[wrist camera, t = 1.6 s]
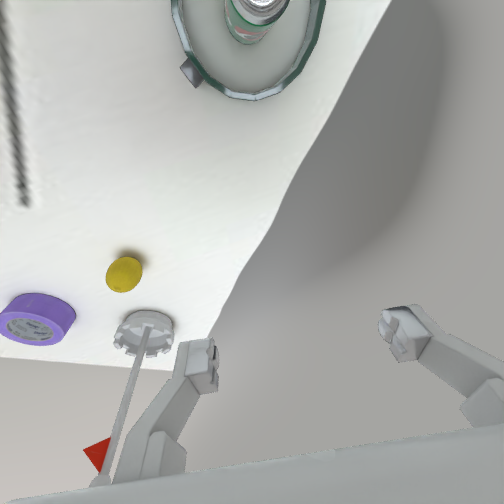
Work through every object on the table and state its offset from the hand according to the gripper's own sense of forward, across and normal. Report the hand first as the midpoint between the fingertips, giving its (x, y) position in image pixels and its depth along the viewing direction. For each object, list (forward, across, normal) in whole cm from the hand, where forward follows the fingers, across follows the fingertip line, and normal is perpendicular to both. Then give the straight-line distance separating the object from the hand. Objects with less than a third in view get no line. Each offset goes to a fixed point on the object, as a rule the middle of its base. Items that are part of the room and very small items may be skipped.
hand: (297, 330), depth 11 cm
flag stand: (+31, +31, +34) cm, 55 cm away
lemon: (+30, +25, +14) cm, 42 cm away
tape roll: (+30, +50, +23) cm, 63 cm away
